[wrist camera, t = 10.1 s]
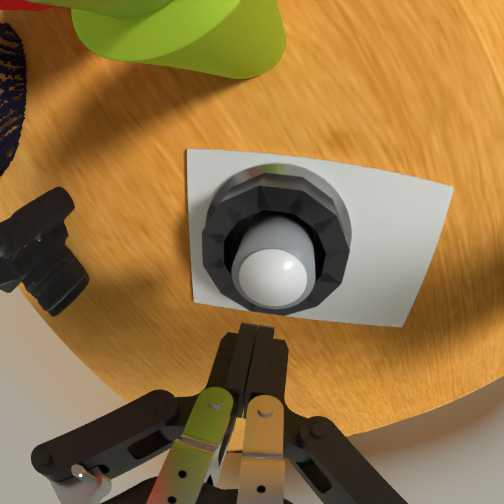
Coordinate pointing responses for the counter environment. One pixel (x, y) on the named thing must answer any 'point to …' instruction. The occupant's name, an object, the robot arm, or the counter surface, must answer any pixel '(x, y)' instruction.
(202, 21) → the soap dispenser
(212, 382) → the robot arm
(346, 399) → the counter surface
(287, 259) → the cap
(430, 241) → the mat
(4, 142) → the decorative bowl
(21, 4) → the vase
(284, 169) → the black faceted bowl
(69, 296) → the camera
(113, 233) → the counter surface
